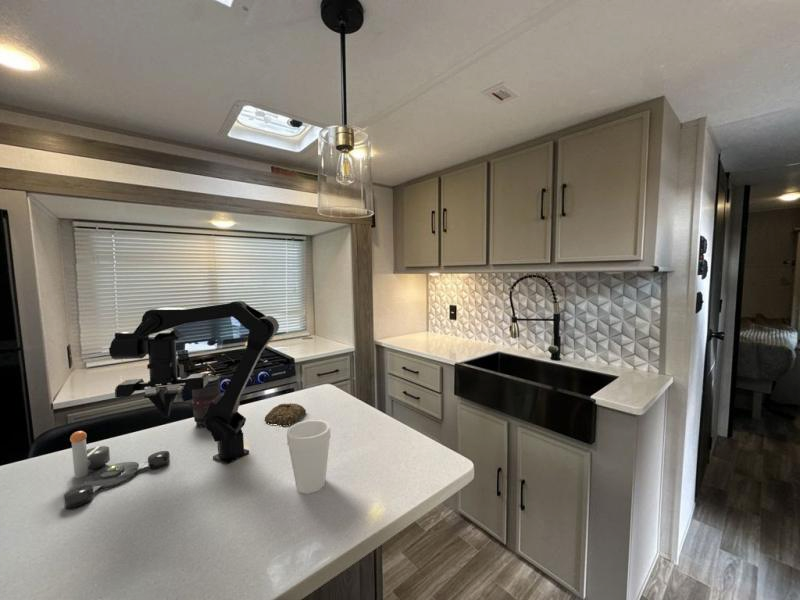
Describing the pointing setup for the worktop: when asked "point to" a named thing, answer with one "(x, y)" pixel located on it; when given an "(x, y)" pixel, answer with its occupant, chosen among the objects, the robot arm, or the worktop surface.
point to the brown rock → (285, 414)
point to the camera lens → (204, 399)
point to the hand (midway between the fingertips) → (166, 417)
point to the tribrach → (111, 478)
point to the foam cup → (309, 453)
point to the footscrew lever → (87, 455)
